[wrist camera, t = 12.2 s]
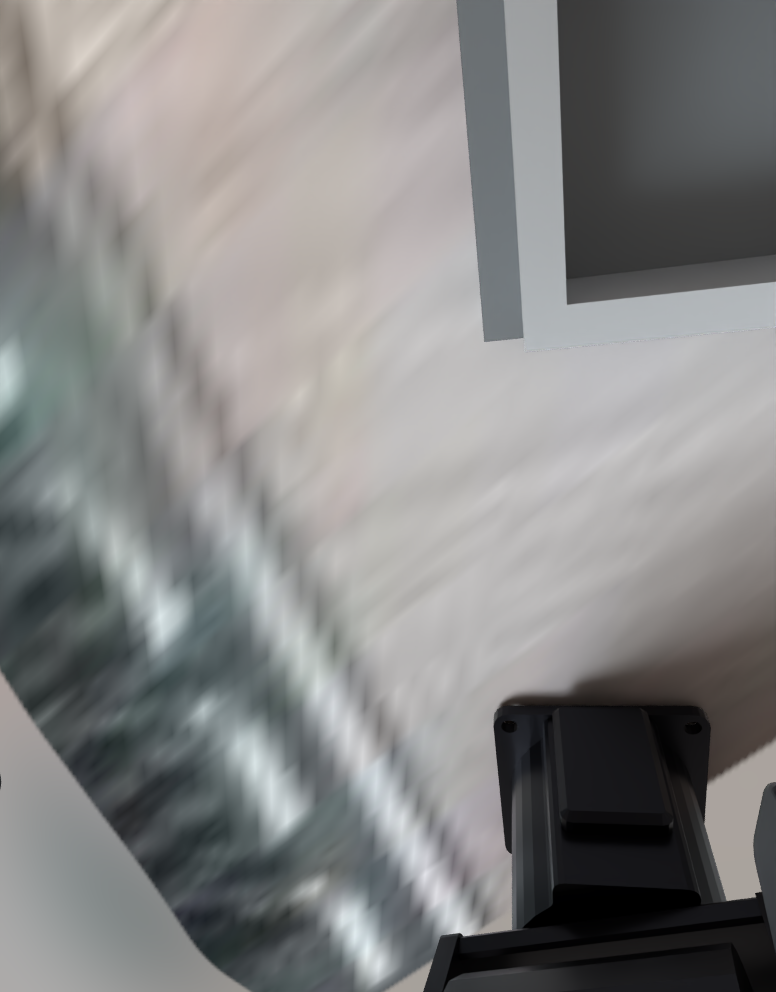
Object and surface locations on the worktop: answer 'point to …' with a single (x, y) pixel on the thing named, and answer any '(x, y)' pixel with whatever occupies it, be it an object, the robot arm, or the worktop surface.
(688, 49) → the socket dock
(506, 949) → the robot arm
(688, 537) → the worktop surface
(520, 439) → the worktop surface
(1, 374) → the worktop surface
